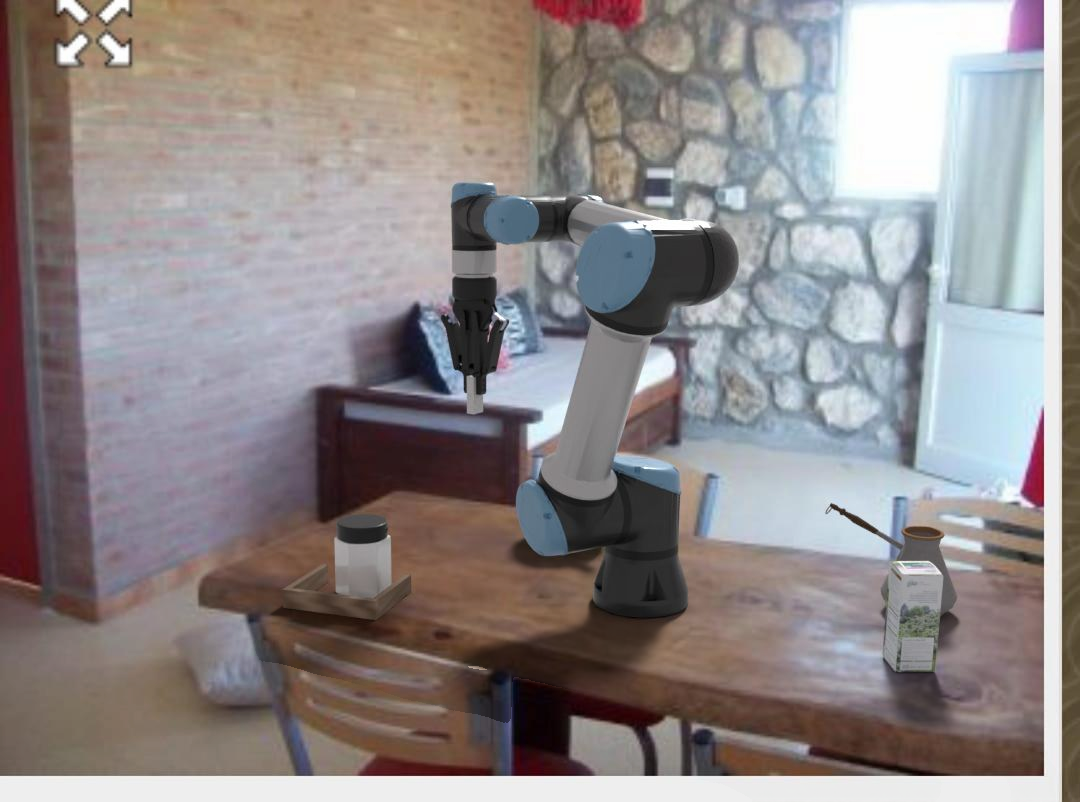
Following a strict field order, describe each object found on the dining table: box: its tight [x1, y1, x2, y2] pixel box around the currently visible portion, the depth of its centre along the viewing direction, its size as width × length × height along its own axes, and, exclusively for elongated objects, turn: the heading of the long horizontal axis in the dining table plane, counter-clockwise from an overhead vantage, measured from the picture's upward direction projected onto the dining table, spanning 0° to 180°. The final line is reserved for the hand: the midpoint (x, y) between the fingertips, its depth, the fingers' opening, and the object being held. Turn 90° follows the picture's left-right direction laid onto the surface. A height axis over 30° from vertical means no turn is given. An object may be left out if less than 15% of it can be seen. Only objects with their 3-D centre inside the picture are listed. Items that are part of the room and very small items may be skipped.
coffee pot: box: [824, 502, 958, 618], centre depth 188 cm, size 21×12×15 cm, turn 55°
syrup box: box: [882, 560, 943, 673], centre depth 164 cm, size 6×6×14 cm
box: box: [282, 563, 412, 621], centre depth 189 cm, size 16×13×3 cm
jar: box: [333, 513, 392, 598], centre depth 192 cm, size 9×8×12 cm
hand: (475, 412), depth 204 cm, fingers closed
